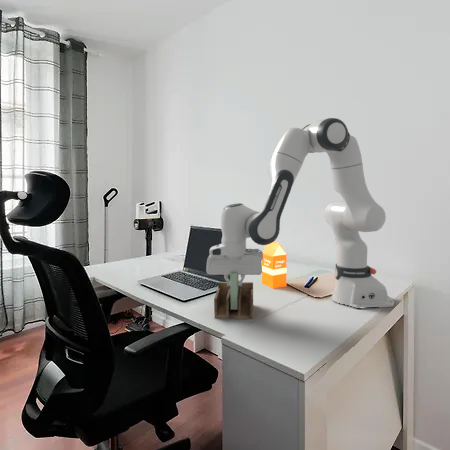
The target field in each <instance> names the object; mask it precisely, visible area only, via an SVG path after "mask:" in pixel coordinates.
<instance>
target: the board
mask: <svg viewBox="0 0 450 450" xmlns="http://www.w3.org/2000/svg"><path fill="white" fill-rule="evenodd" d="M239 278H240V277H239V275H237V272H230V275H229V281H230V297H231V309H232V310H238V297H239V286H238V281H240V280H239Z"/></svg>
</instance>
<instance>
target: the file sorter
mask: <svg viewBox="0 0 450 450" xmlns="http://www.w3.org/2000/svg"><path fill="white" fill-rule="evenodd" d="M213 302H214V303H213V306H214V308H213V309H214V310H213V311H214V314H213V315H214V319H236V320H237V319H241V320H243V319H246V320H253V319H254V282H253V281H252V282H250V281H249V282H247V281H246V282H243V281H242V287H239V297H238V310H232V309H231V297H230V286H227V281H218V282H217V290H216V292H215V295H214V298H213Z"/></svg>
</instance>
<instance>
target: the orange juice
mask: <svg viewBox="0 0 450 450" xmlns="http://www.w3.org/2000/svg"><path fill="white" fill-rule="evenodd" d="M262 252H263V259H262V261H261V263H262V273H261V284H262V285H265V286H267V287H269V288H271V289H278V288H283V287H287V274H288V273H287V272H288V271H287V269H288V268H287V261H288V259H287V256H288V255H287V253H286V252H285V250H284V248H283V246H282V245H281V243H280V242H275V241H274V242H272V243H271V244H268V245H265V247H264V249H263V251H262Z"/></svg>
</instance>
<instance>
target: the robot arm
mask: <svg viewBox="0 0 450 450" xmlns="http://www.w3.org/2000/svg"><path fill="white" fill-rule="evenodd" d="M276 145H277V146H276V147H275V148H274V151H273V153H272V156H271V157H270V160H269V165H268V167H267V173H268V176H269V178H270V181H271V182H270V183H271V184H270V189H269V193H268V195H267V197H266V200H265V203H264V205H263V207H262V210H261V211H258V210H254V209H251V208H249V207H248V206H246V205H245V204H244V203H241V202H240V203H239V202H237V203H231V204H228V205H225V207H223V209H222V211H221V216H220V217H221V219H220V229H221V230H220V231H221V233H222V237H221V243H219V244H216V245H213V246H211V247H210V248H209V251H208V252H209V255H208V257H207V259H206V269H205V271H206V274H208V275H210V276H211V275H212V276H213V275H215V276H217V275H218V276H220V275H221V276H222V275H223V278H224V280H225V282H227V286H230V278H228V277H229V276H230V272H237V275H238V276H240V280H239V281H238V286H239V287H242V282H243V281H244V279H245V277H246V276H252V275H253V276H261V275H262V259H263V251H262V250H261V249H259V248H247V238H250V239H251V241H253V242H254V243H256V244H257V245H258V246H259V245H260V246H266V245H268V244H271V243H272V242H275V241H276V240H277V239H278V237H279V234H280V229H281V227H280V226H281V224H280V223H281V217H282V214H283V212H284V209H285V206H286V203H287V201H288V198H289V197H290V196H289V195H290V194H291V190H292V187H293V186H294V183H295V181H296V179H297V176H298V175H299V172H300V170H301V168H302V167H303V164H304V162H305V158H306V157H307V156H308V154H309V153H311V154H314V153H326V154H327V156H328V157H329V162H330V163H329V165H330V170H331V179H332V186H333V189H334V190H335V192H337V193H338V194H339V195H340V196H341V198H342V199H343V200H339V201H338V200H337V201H334V202H333V201H332V202H331V203H329V204H328V205H327V206H326V208H325V211H324V219H325V221H326V223H327V224H328V225H329V226H330V228H331V231H332V232H333V236H334V239H335V243H336V245H335V246H336V263H335V267H334V278H335V282H334V287H333V288H334V289H333V290H332V291H333V293H332V295H331V300H332V301H334V302H335V303H336V304H339V303H340V304H339V305H343V304H345V305H344V306H347V305H349V306H348V307H350V306H353V307H356V308H360V307H379V308H391V307H392V308H393V307H394V306H395V301H394V300H393V298H391V297H390V296H389V295H388V290H387V288H386V286H385V285H384V283H382V282H381V281H380V280H378V279H377V278H376V277H374V275H376V273H377V270H376V269H375V268H373V267H371V266H369V265H368V245H367V244H366V242H365V241H363V239H362V237H361V235H360V233H359V232H361V233H372V232H377V231H379V230H381V229H382V228H383V226H384V225H385V222H386V218H387V217H386V212H385V209H384V208H383V206H381V205H380V204H378V202H376V201H375V199H374V198H373V196H372V194H371V193H370V191H369V190H368V187H367V186H368V185H367V183H366V180H365V173H364V165H363V158H362V153H361V150H360V146H359V143H358V140H357V138H356V137H355V136H353V135H351V134H350V132H349V130H348V128H347V125H346V124H345V122H344V121H343V120H341V119H339V118H336V117H328V118H324V119H320V120H316V121H315V122H312V123H310V124H307V125H305V126H304V127H303V128H300V127H290V128H289V129H287V130H285V132H284V134H283V135H282V136H281V138H280V140H279V141H278V143H277V144H276ZM353 307H352V308H353ZM356 308H355V309H356Z"/></svg>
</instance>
